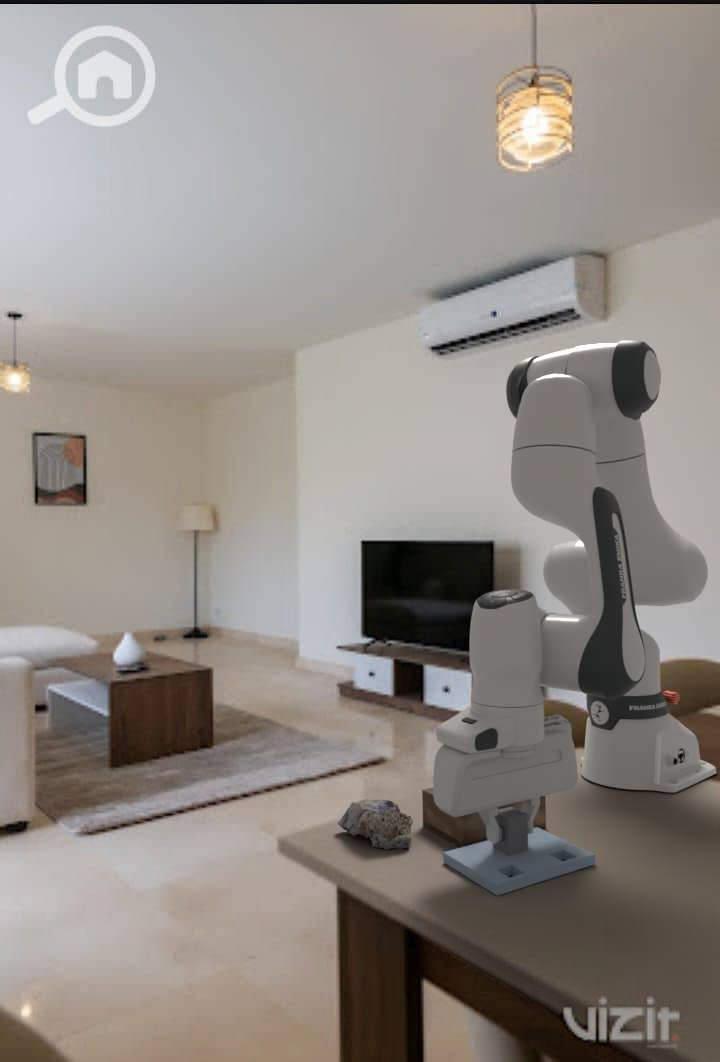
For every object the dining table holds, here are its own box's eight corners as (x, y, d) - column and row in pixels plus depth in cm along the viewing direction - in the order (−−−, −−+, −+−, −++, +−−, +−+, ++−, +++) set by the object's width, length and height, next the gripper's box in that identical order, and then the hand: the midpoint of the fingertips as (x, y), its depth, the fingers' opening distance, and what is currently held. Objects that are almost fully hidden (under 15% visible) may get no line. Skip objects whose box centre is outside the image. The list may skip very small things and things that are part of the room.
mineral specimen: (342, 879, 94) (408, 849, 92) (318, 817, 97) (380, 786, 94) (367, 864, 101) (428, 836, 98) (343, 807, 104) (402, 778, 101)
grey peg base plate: (537, 836, 97) (536, 793, 98) (595, 864, 89) (594, 817, 89) (443, 862, 90) (442, 815, 90) (497, 895, 81) (495, 844, 82)
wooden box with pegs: (502, 807, 109) (501, 748, 109) (546, 826, 101) (544, 763, 101) (423, 826, 102) (421, 764, 102) (462, 849, 94) (461, 781, 94)
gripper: (552, 707, 99) (554, 812, 99) (424, 729, 89) (427, 846, 89) (588, 717, 93) (591, 828, 93) (456, 741, 83) (459, 865, 83)
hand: (510, 837), depth 91 cm, fingers closed on grey peg base plate, 3 cm apart
